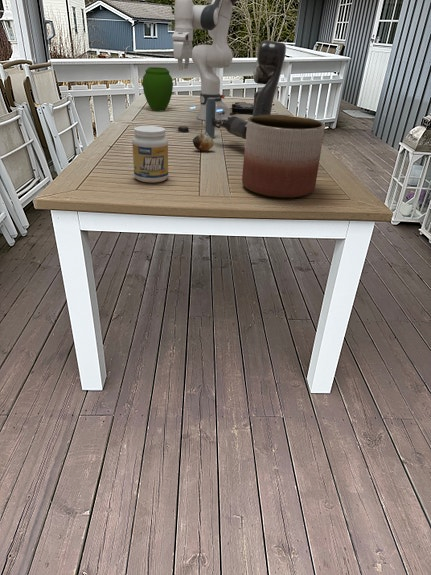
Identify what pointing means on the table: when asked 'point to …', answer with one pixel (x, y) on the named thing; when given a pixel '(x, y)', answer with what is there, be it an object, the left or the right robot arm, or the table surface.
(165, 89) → the vase
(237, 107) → the sign
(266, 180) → the planter
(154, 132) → the supplement tub
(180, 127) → the lid
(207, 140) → the seashell
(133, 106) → the table surface
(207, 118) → the dark gray cylinder
